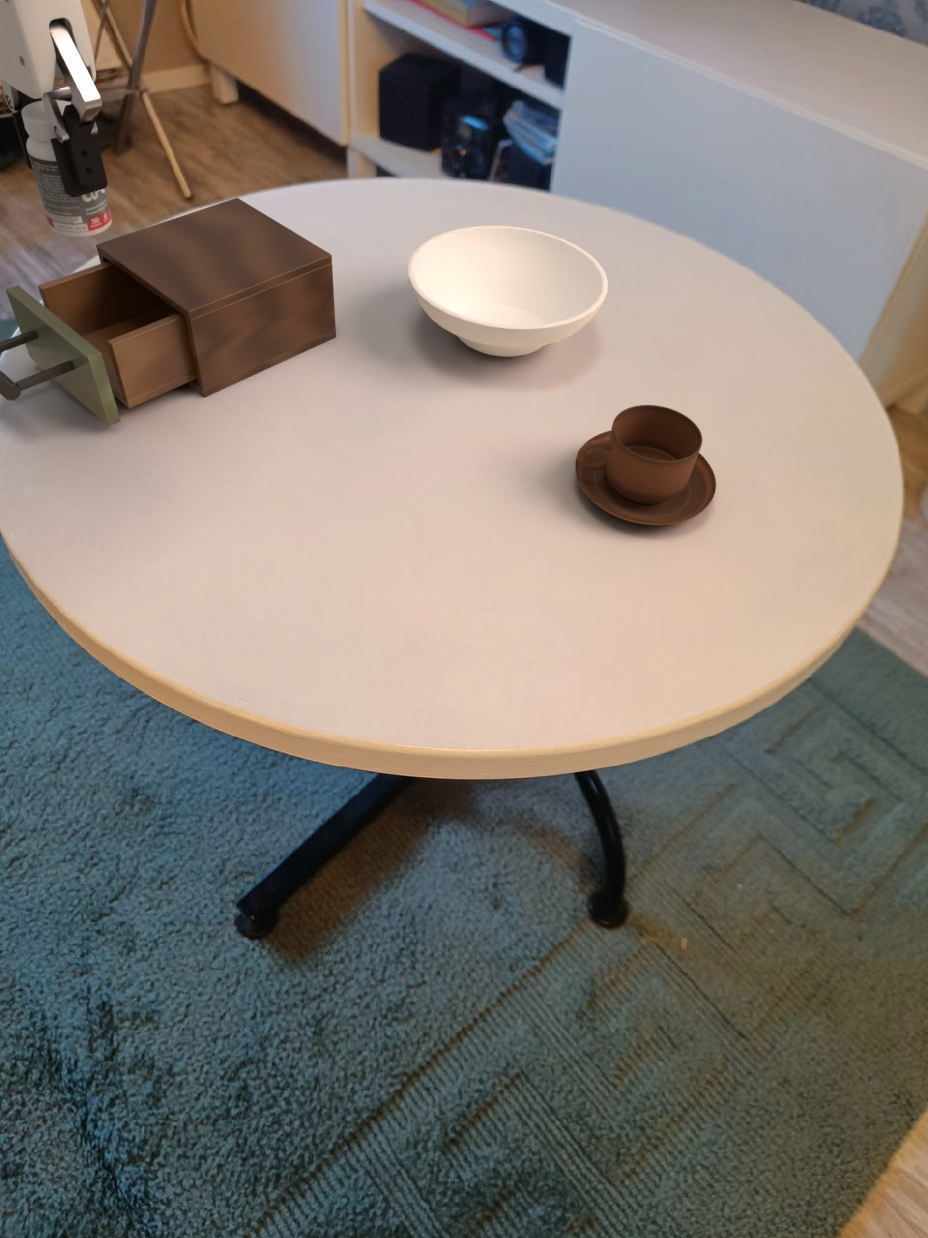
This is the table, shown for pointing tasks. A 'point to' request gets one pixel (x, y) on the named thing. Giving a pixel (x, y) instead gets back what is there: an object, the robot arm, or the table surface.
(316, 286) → the cabinet
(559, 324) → the bowl
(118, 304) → the drawer
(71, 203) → the pill bottle
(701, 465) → the cup and saucer
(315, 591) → the table surface
